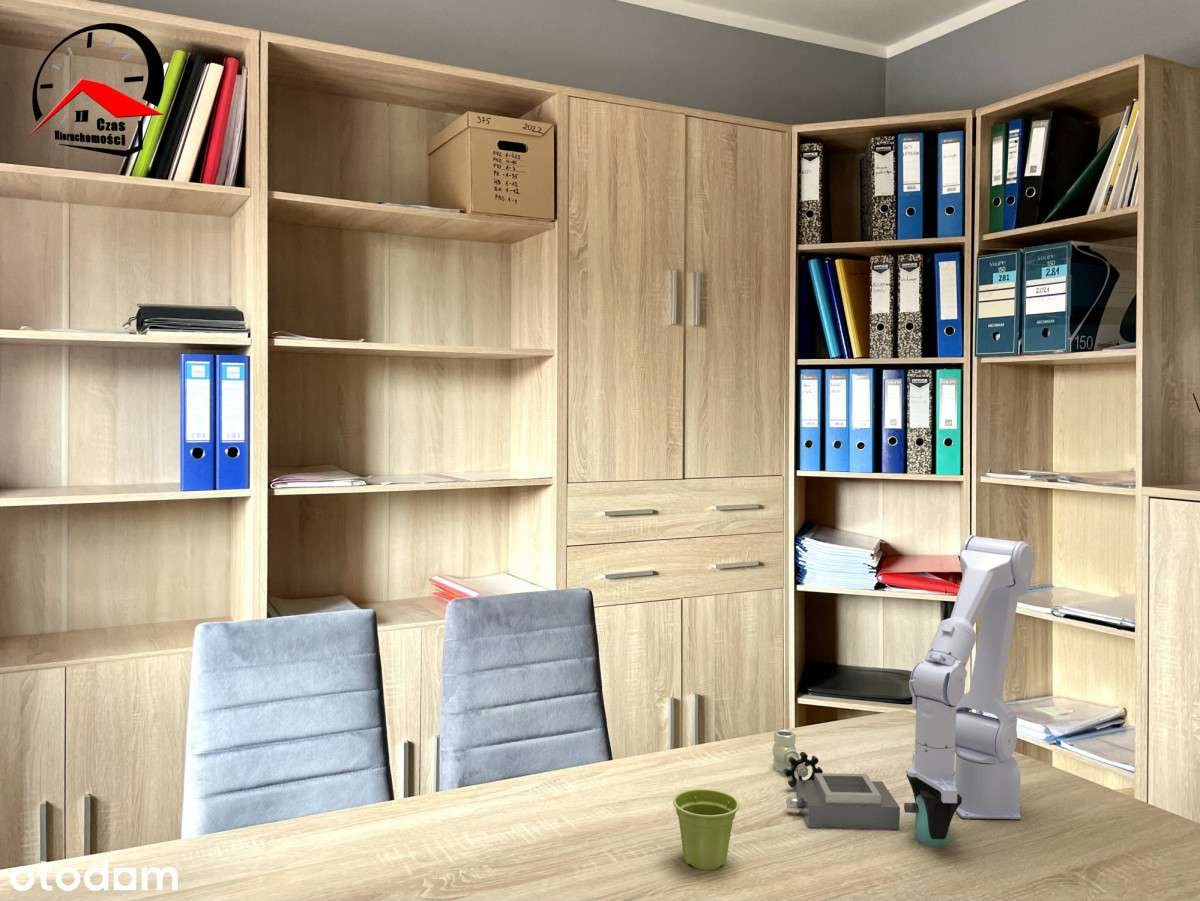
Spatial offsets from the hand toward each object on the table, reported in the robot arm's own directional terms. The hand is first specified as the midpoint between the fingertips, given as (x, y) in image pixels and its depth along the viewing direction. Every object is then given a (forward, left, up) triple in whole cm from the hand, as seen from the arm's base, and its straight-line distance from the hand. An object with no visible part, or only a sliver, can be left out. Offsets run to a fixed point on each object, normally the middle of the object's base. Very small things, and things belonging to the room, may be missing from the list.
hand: (931, 829), depth 148 cm
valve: (+17, -23, -2) cm, 28 cm away
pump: (0, 0, -1) cm, 1 cm away
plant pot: (+35, +8, -2) cm, 36 cm away
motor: (+12, -8, -1) cm, 15 cm away
